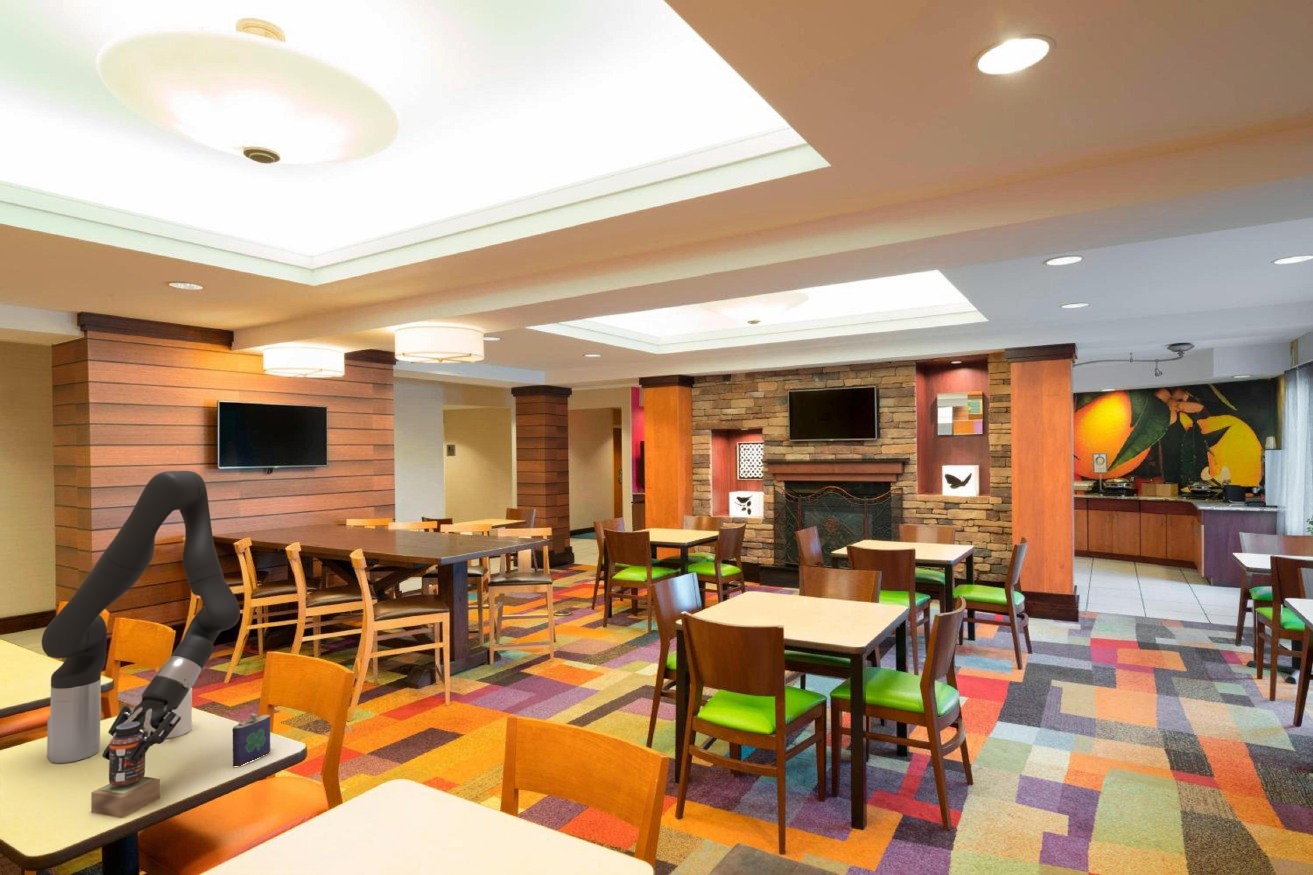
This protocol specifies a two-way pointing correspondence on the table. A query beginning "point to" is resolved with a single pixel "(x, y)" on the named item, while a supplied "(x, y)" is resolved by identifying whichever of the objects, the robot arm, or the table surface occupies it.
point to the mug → (183, 717)
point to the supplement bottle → (125, 755)
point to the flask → (251, 739)
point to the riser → (125, 797)
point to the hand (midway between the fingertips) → (119, 760)
